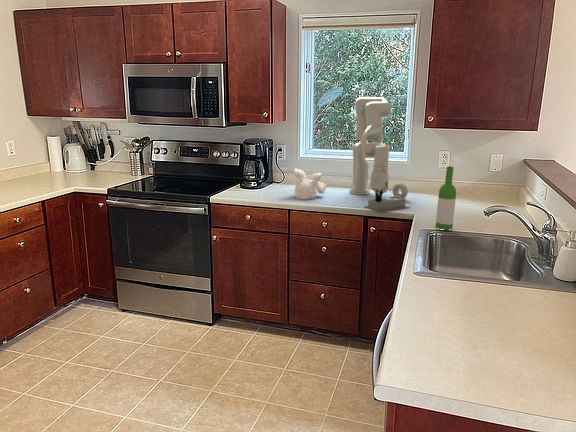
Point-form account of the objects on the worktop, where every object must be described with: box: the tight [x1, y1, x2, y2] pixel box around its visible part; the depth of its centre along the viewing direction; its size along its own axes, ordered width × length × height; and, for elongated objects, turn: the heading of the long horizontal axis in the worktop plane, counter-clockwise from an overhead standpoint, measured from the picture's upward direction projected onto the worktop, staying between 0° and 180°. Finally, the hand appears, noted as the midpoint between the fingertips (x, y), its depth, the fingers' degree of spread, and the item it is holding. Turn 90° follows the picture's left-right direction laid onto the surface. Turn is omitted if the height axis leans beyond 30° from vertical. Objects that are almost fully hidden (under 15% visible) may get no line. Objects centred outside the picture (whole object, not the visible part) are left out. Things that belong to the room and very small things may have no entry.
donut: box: [392, 182, 409, 199], centre depth 289 cm, size 10×3×10 cm, turn 43°
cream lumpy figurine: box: [293, 167, 327, 201], centre depth 292 cm, size 19×20×20 cm
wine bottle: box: [435, 165, 457, 230], centre depth 226 cm, size 8×8×30 cm
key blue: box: [382, 196, 393, 201], centre depth 269 cm, size 4×4×3 cm
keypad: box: [363, 195, 410, 214], centre depth 269 cm, size 14×20×5 cm
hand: (378, 201), depth 266 cm, fingers closed
